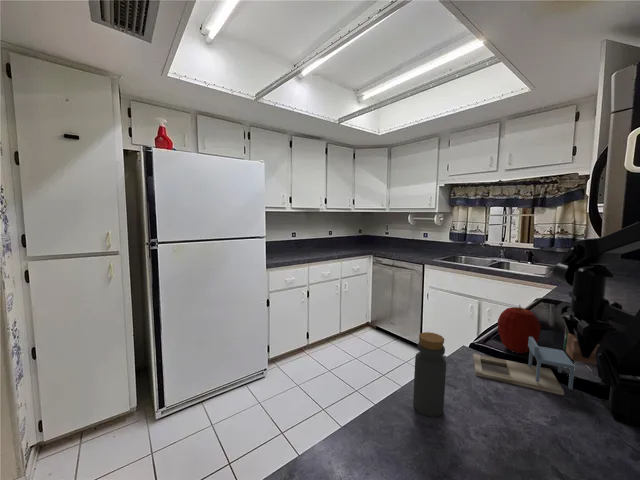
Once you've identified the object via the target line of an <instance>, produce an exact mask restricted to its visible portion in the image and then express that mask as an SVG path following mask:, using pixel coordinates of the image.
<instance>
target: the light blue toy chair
mask: <svg viewBox="0 0 640 480" xmlns="http://www.w3.org/2000/svg"><path fill="white" fill-rule="evenodd" d="M528 347H529V348H530V351H528V352H529V354H528V366H529V367H532V365H533V357H534V358H535V360H536V366H537V369H536V379H535V381H536V382H539V380H540V370H541V366H542V364H545V365H550V366H554V367H557V373H559V374H562V373H563V372H562V371H563V368H562V367H564V368H569V369H570V374H569V377H568V382H567V383H568V384H567V387H568V389H569V390H572V391H573V389H574V380H575V378H574V371H575V365H574V364H575V363H574V362H573V360H572V359H571V358H570V357H569V355H568V354H567V353H566V351H565V350H564V349H563V350H561V349H556V348H551V347H545V346H539V345H538V342H537V343H536V342H535V340H534V338H533V337H529V340H528ZM573 363H574V364H573Z"/></svg>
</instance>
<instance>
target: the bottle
mask: <svg viewBox="0 0 640 480" xmlns="http://www.w3.org/2000/svg"><path fill="white" fill-rule="evenodd" d="M418 337H419V341H418V343H417V350H418V352H417V353H416V354H415V357H414V358H415V359H414V376H413V377H414V378H413V400H412V403H413V407H414V409H415V410H416V411H417V412H418V413H420V414H422V415H424V416H427V417H430V418H432V417H433V418H437V417H440V416H441V415H442V414H443V413H444V410H445V409H444V408H445V393H446V378H447V377H446V375H447V373H446V372H447V359H446V358H445V357H444V356H443V355H445V354H446V347H445V346H444V343H445V338H444V337H443V336H442V335H441V334H438V333H435V332H429V331H426V332H421V333H420V334H419V335H418Z"/></svg>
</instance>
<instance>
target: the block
mask: <svg viewBox="0 0 640 480" xmlns="http://www.w3.org/2000/svg"><path fill="white" fill-rule="evenodd" d="M599 346H600V345H599V344H597V346H596V347H595V349H594V350H593V352H592V354H591V355H590V357H589V358H584V357H582V354H581V351H580V348H579V345H578V342H577V339H576V336H575V334H568V337H567V347H566V351H565V354H566V355H567V356H568V357H569V359H570V360H571V361H576V362H581V363H587V364H592V365H596V366H597V362H596V351H597V349H598V347H599Z"/></svg>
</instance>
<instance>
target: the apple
mask: <svg viewBox="0 0 640 480" xmlns="http://www.w3.org/2000/svg"><path fill="white" fill-rule="evenodd" d="M518 305H519V306H518V307H517V306H516V307H507V308H506V309H504V310H503V311H502V312H501V313H500V314H499V317H498V319H497V332H498V335H499V338H500V341H501V343H502V345H503V346H504V347H505V349H507V348H508V349H509V350H511V351H514V352H518V353H517V354H524V353H528V352H530V348H529V347H528V340H529V337H533V338H534V340H535V342H536V343H537V344H538V341H539V339H540V336H541V329H542V327H541V326H542V325H541V323H540V321H539V319H538V318H537V317H536V315H535V314H534V313H533V312H532V311H531V310H529V309H526V308H523V307H521V304H518ZM508 349H507V350H508ZM509 350H508V351H509ZM511 351H510V352H511ZM514 352H513V353H514Z"/></svg>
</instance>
